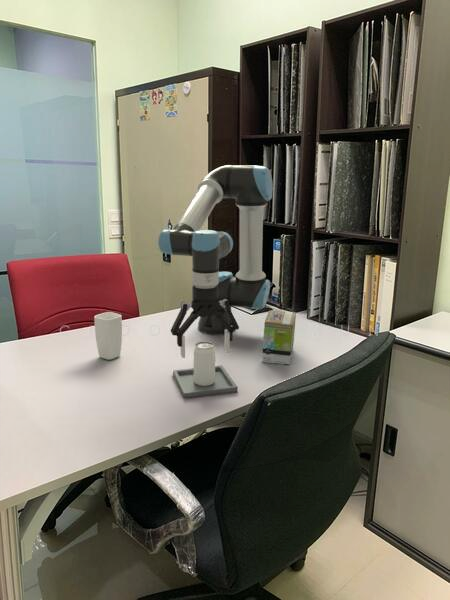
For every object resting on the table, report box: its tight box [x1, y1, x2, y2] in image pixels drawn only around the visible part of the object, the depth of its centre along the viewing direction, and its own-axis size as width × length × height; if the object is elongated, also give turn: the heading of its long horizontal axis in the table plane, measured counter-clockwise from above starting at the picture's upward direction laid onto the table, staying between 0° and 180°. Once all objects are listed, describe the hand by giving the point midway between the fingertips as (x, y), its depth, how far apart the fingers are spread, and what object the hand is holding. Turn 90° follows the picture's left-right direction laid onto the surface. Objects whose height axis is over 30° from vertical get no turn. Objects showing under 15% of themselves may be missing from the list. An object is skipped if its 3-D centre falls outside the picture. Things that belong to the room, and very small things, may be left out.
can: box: [193, 341, 217, 386], centre depth 139 cm, size 6×6×12 cm
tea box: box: [261, 309, 297, 365], centre depth 162 cm, size 15×10×15 cm, turn 168°
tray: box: [172, 365, 239, 400], centre depth 141 cm, size 16×16×2 cm
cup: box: [93, 311, 123, 361], centre depth 157 cm, size 7×7×15 cm
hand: (205, 353), depth 139 cm, fingers open, 13 cm apart
